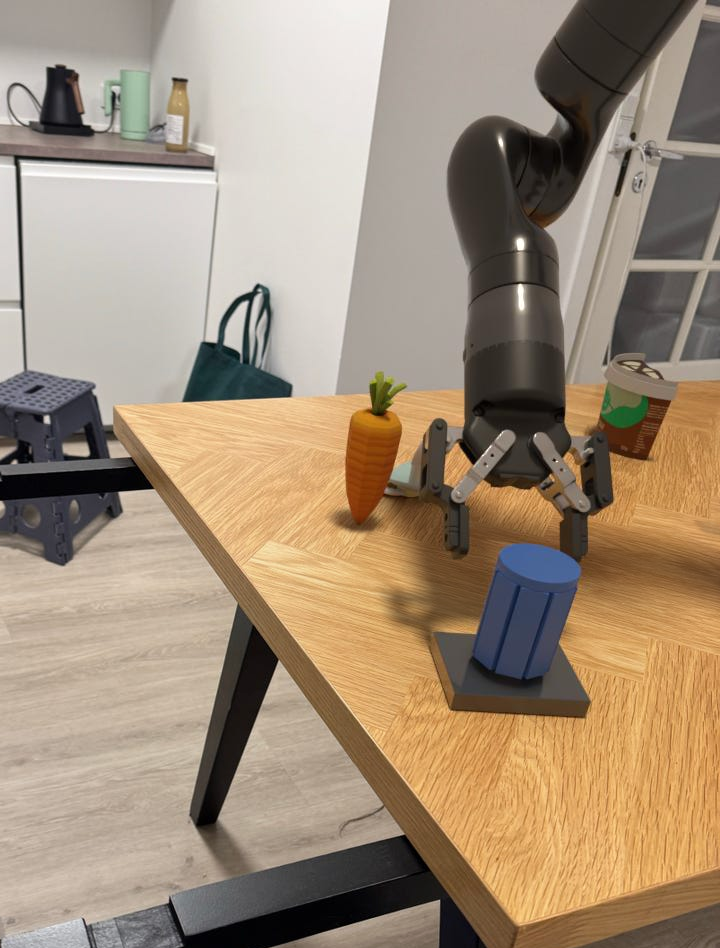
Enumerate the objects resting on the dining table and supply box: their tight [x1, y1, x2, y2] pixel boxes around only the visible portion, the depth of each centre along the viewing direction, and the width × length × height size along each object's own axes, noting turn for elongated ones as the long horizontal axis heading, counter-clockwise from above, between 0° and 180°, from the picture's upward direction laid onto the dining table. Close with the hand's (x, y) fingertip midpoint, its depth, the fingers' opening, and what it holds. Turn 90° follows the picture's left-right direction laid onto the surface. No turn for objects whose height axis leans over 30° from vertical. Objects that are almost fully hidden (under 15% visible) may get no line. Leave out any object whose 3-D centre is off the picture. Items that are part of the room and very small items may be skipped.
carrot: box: [344, 371, 408, 525], centre depth 83 cm, size 5×5×15 cm
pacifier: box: [383, 440, 423, 498], centre depth 94 cm, size 7×6×6 cm
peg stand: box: [429, 630, 592, 718], centre depth 65 cm, size 10×8×10 cm
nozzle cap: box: [472, 542, 582, 679], centre depth 64 cm, size 6×6×8 cm
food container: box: [595, 352, 679, 461], centre depth 110 cm, size 12×6×10 cm, turn 178°
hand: (515, 561), depth 66 cm, fingers open, 8 cm apart
